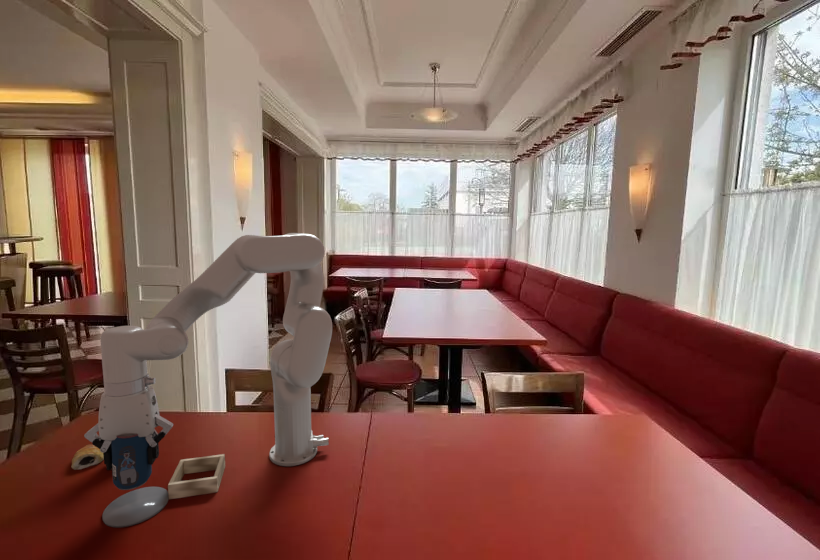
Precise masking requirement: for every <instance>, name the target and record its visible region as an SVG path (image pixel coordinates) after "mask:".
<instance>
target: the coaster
mask: <svg viewBox="0 0 820 560" xmlns="http://www.w3.org/2000/svg"><path fill="white" fill-rule="evenodd" d="M169 500H170V499H169V494H168V489H166V488H164V487H160V486H145V487H141V488H140V487H139V488H135V489H132V490H131V491H129V492H126V493H123V494H122V495H120V496H118V497H116V498H115V499H114V500H113V501H112V502H110V503H109V504H108V505H107V506H106V508H105V509H104V510H103V511H102V512H103V513H102V516H101V517H102V521H103V523H104V525H106V526H107V527H111V528H117V529H118V528H126V527H132V526H135V525H138V524H140V523H143V522H146V521H147V520H149V519H151V518H153V517H154V516H156V515H158V514H159V513H160V512H161V511H162V510H163V509H164V508H165V507H166V506H167V504H168V503H169Z"/></svg>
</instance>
